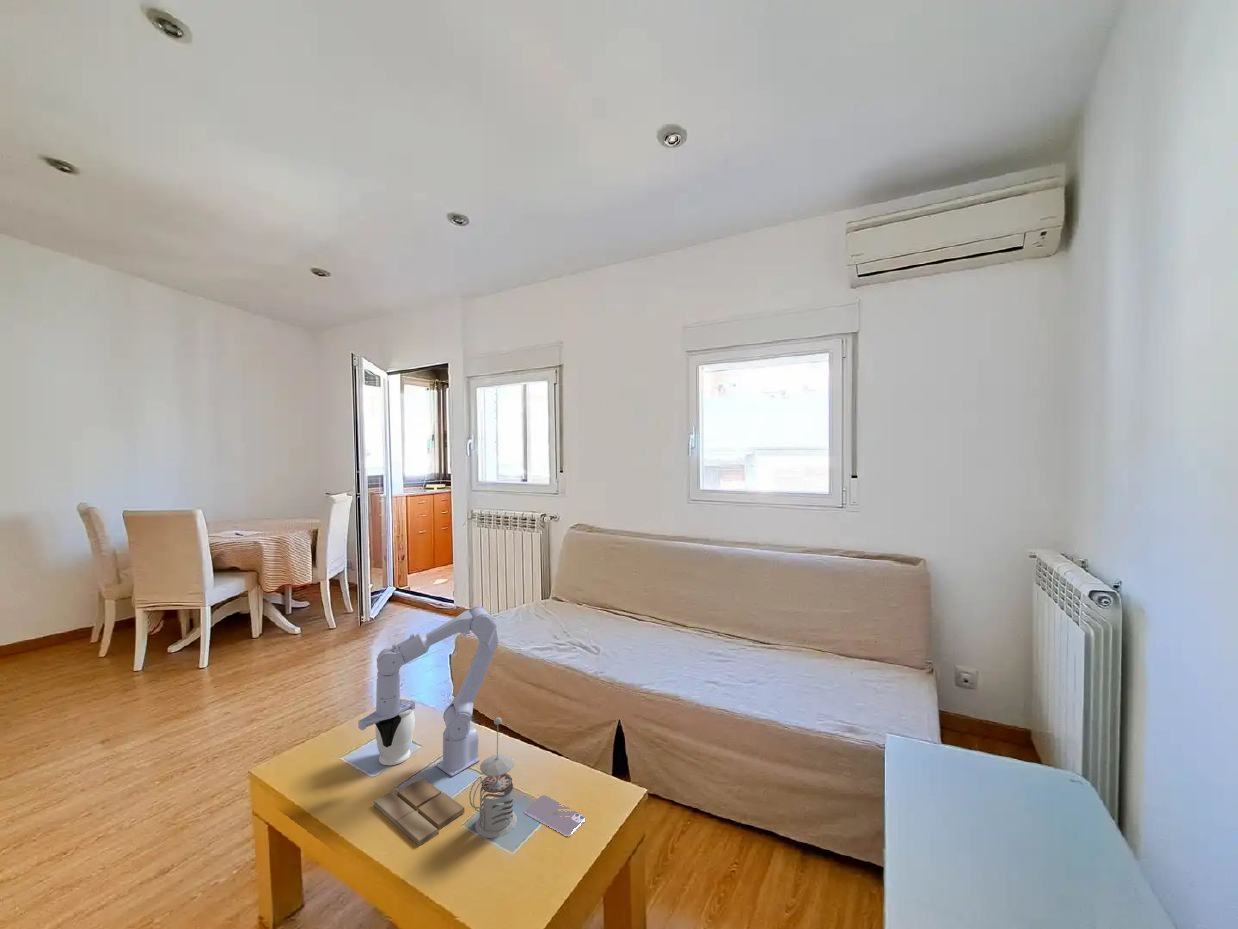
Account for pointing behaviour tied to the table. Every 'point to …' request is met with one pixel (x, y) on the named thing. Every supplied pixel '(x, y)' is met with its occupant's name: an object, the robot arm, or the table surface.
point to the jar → (398, 740)
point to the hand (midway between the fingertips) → (387, 745)
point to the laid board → (406, 818)
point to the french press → (495, 816)
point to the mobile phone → (554, 815)
